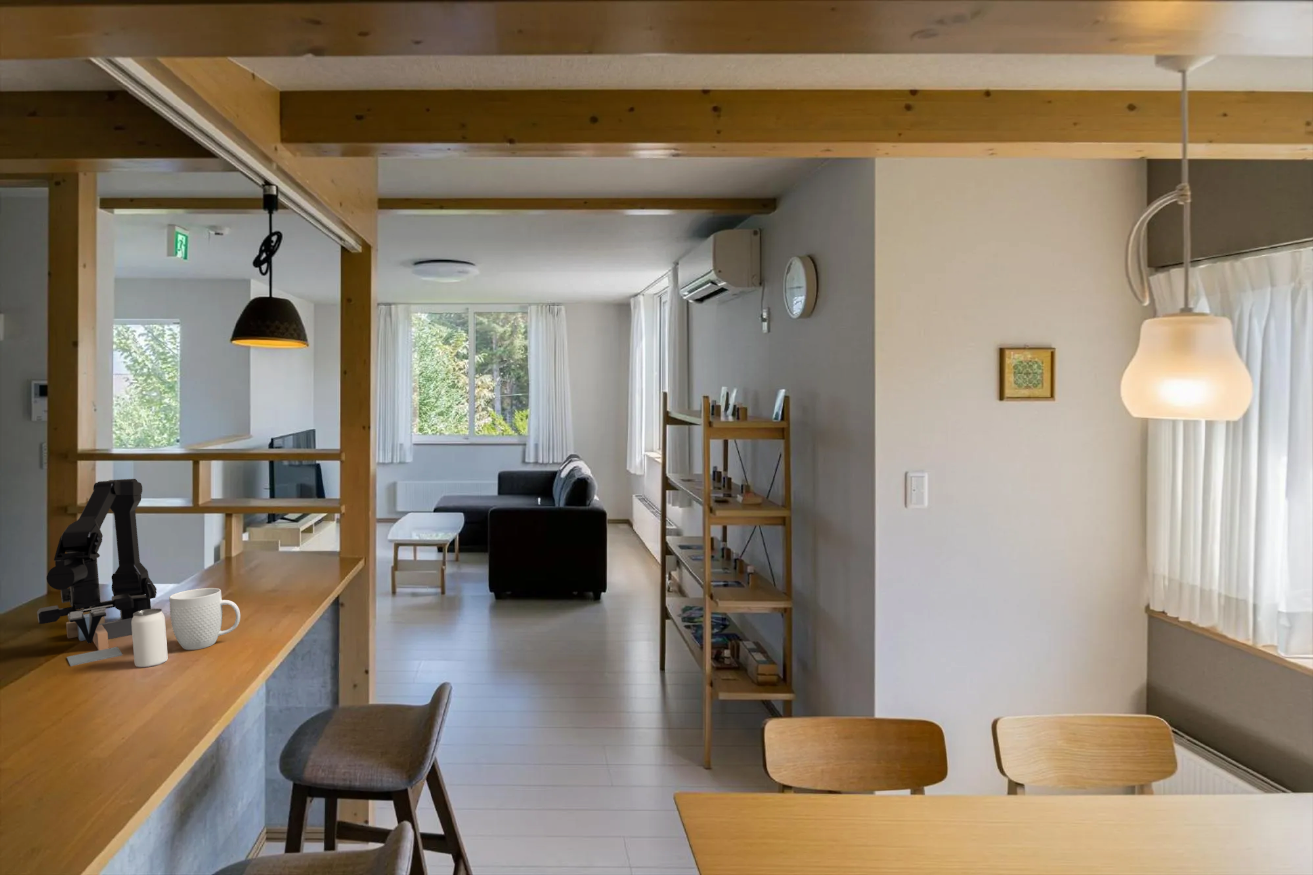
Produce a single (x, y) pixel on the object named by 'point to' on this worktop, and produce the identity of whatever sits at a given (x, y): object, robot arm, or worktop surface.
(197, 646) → the mug
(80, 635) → the plug
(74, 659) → the pad
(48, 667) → the worktop surface
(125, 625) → the grey tan flat block
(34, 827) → the worktop surface
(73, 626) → the back block
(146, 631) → the can
